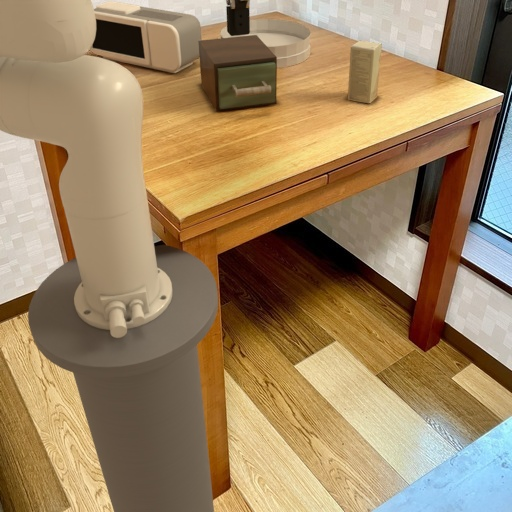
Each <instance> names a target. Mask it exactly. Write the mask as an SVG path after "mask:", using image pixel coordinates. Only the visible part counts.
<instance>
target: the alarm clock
mask: <svg viewBox="0 0 512 512" xmlns="http://www.w3.org/2000/svg"><path fill="white" fill-rule="evenodd" d="M94 13H95V18H96V36H95V40H94V42H93V44H92V46H91V47H90V49H89V51H90V52H92V53H93V54H94V55H96V56H101V57H102V58H104V59H107V60H110V61H114V62H120V63H126V64H129V65H134V66H138V67H144V68H148V69H153V70H158V71H163V72H167V73H172V74H176V73H178V72H180V71H182V70H184V69H186V68H187V67H189V66H191V65H194V64H193V63H194V61H196V60H198V59H200V56H199V42H198V41H200V40H203V38H202V26H201V22H200V20H199V19H198V18H197V17H196V16H195V15H193V14H190V13H183V12H178V11H171V10H164V9H159V8H153V7H147V6H140V5H137V4H132V3H125V2H120V1H114V0H109V1H105V2H103V3H100V4H97V5H96V6H95V8H94Z"/></svg>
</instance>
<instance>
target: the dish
mask: <svg viewBox="0 0 512 512" xmlns="http://www.w3.org/2000/svg"><path fill="white" fill-rule="evenodd" d="M311 33H312V32H311V30H310V28H309V27H308V26H306V25H305V24H302V23H299V22H296V21H292V20H287V19H280V18H279V19H278V18H256V19H255V18H254V19H250V33H249V34H248V35H238V36H231V35H230V34H229V33H228V32H227V25H226V26H224V27H222V29H221V30H220V38H230V37H240V36H250V35H257V36H258V37H259V38H260V39H261V41H262V42H263V43H264V44H265V45H266V46H267V47H268V48H269V49H270V50H271V51H272V52H273V53H274V55H275V56H276V57H277V69H282V68H288V67H292V66H296V65H298V64H301V63H304V62H305V61H306V60H307V59H309V58H310V56H311V51H312V50H311V49H312V47H311V46H312V44H311Z"/></svg>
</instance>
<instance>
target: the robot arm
mask: <svg viewBox="0 0 512 512" xmlns="http://www.w3.org/2000/svg"><path fill="white" fill-rule="evenodd" d="M250 1H251V0H225V2H226V6H225V7H226V8H225V9H226V10H225V11H226V26H227V32H228V33H229V34H230V35H231V36H238V35H248V34H249V33H250V20H251V17H250V16H251V15H250V12H251V11H250V5H251V3H250ZM94 9H95V8H94V6H93V1H92V0H0V131H1V132H3V133H5V134H8V135H11V136H15V137H19V138H23V139H27V140H33V141H37V142H42V143H47V144H50V145H54V146H59V147H62V148H64V149H65V150H66V152H67V154H68V155H67V156H68V157H67V161H66V163H65V165H64V166H63V168H62V171H61V172H60V176H59V180H58V181H59V183H58V188H59V194H60V199H61V203H62V207H63V209H64V214H65V218H66V223H67V226H68V230H69V234H70V238H71V243H72V247H73V250H74V254H75V258H76V259H77V263H78V267H79V271H80V275H81V279H82V282H81V283H80V285H79V286H78V288H77V290H76V292H75V296H74V304H75V308H76V311H77V313H78V315H79V317H80V318H81V319H82V320H83V321H84V322H86V323H88V324H89V325H91V326H94V327H97V328H100V329H105V330H110V333H111V335H112V336H113V337H116V338H120V337H123V336H125V334H126V333H127V329H131V328H135V327H138V326H141V325H144V324H146V323H148V322H150V321H152V320H154V319H155V318H157V317H158V316H159V315H161V314H162V313H163V312H164V311H165V310H166V308H167V307H168V305H169V304H170V302H171V299H172V292H173V290H172V283H171V281H170V278H169V277H168V275H167V274H166V273H165V272H164V271H162V270H161V269H159V268H157V262H156V255H155V248H154V246H155V242H154V234H153V229H152V222H151V221H152V220H151V214H150V207H149V199H148V193H147V187H146V179H145V173H144V162H143V145H142V144H143V125H144V124H143V121H144V96H143V95H144V94H143V90H142V87H141V85H140V83H139V81H138V79H137V77H136V76H135V75H134V74H133V73H132V72H131V71H130V70H129V69H127V68H126V67H125V66H123V65H121V64H119V62H118V63H117V62H116V61H114V60H111V59H106V58H103V57H99V56H94V55H87V53H88V52H89V51H90V47H91V46H92V44H93V42H94V40H95V36H96V18H95V13H94Z"/></svg>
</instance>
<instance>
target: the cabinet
mask: <svg viewBox="0 0 512 512" xmlns="http://www.w3.org/2000/svg"><path fill="white" fill-rule="evenodd" d="M198 42H199V56H200V58H199V69H200V82H201V87H202V89H203V90H204V93H205V94H206V95H207V97H208V99H209V102H210V103H211V104H212V106H213V108H214V109H215V111H216V112H222V111H223V112H224V111H230V110H231V111H232V110H238V109H239V110H240V109H245V108H254V107H261V106H269V105H277V88H278V87H277V83H278V82H277V80H278V76H277V75H278V68H277V57H276V56H275V55H274V53H273V52H272V51H271V50H270V49H269V48H268V47H267V46H266V45H265V44H264V43H263V42H262V41H261V39H260V38H259V37H258V36H257V35H250V36H240V37H230V38H221V37H219V38H212V39H210V38H209V39H202V40H200V41H198ZM263 62H269V63H270V62H274V63H275V64H276V93H275V102H272V103H264V104H257V105H249V106H241V107H233V108H225V109H220V107H219V93H218V74H217V68H218V67H227V66H236V65H245V64H254V63H263Z"/></svg>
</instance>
